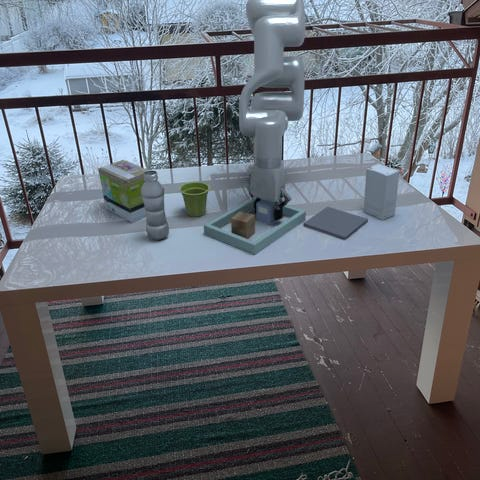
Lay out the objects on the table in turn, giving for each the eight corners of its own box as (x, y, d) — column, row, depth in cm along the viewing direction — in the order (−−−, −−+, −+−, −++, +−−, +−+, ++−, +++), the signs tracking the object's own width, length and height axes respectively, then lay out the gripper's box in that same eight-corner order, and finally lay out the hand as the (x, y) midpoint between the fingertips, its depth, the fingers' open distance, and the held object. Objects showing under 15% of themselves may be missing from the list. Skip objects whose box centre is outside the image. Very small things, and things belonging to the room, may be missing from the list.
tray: (204, 234, 139) (203, 225, 137) (257, 203, 155) (257, 195, 154) (254, 254, 128) (254, 245, 127) (305, 219, 145) (305, 211, 143)
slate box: (256, 220, 145) (256, 202, 142) (266, 214, 149) (266, 197, 146) (269, 225, 143) (269, 207, 140) (279, 218, 146) (279, 201, 143)
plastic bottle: (160, 244, 134) (152, 179, 124) (142, 238, 137) (132, 174, 127) (174, 234, 139) (167, 171, 128) (156, 229, 142) (148, 166, 132)
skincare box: (394, 215, 146) (402, 170, 138) (381, 221, 143) (388, 175, 136) (374, 206, 152) (380, 162, 144) (361, 211, 149) (366, 166, 142)
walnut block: (231, 236, 137) (231, 218, 134) (240, 229, 141) (239, 211, 138) (246, 240, 135) (246, 222, 132) (254, 233, 139) (254, 215, 136)
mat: (303, 226, 141) (303, 223, 141) (327, 209, 151) (327, 206, 150) (345, 240, 134) (345, 237, 133) (367, 221, 143) (368, 218, 142)
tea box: (104, 209, 154) (96, 167, 147) (129, 199, 161) (123, 158, 153) (131, 223, 145) (124, 179, 138) (157, 212, 152) (152, 169, 144)
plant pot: (216, 209, 153) (214, 184, 148) (202, 221, 145) (200, 196, 141) (191, 204, 156) (189, 180, 152) (176, 216, 149) (173, 191, 144)
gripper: (236, 158, 138) (238, 212, 147) (285, 171, 129) (284, 228, 138) (252, 151, 143) (253, 204, 152) (300, 163, 134) (298, 219, 143)
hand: (267, 215), depth 145 cm, fingers open, 7 cm apart
